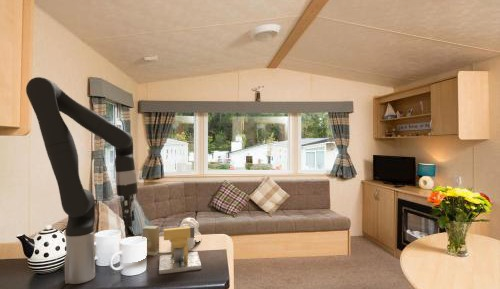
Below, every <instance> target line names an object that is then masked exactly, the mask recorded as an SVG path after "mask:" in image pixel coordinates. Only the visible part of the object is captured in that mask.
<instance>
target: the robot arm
mask: <svg viewBox="0 0 500 289" xmlns="http://www.w3.org/2000/svg"><path fill="white" fill-rule="evenodd" d="M25 92H26V96H27V98H28V100H29V102H30V105H31V107H32V109H33V112H34V114H35V115H36V119H37V122H38V126H39V131H40V133H41V138H42V140H43V145H44V148H45V151H46V154H47V158H48V160H49V162H50V166H51V168H52V172H53V175H54V177H55V179H56V183H57V187H58V193H59V197H60V203H61V207H62V210H63V212H64V213H65V214H66V215H67V216H68V218H67V223H66V226H65V250H66V251H65V252H66V255H65V256H64V280H65V281H64V282H65V284H71V285H76V284H83V283H87V282H89V281H92V280H93V279H94V278H95V277H96V260H95V259H96V258H95V257H96V256H95V255H96V254H95V253H96V251H95V221H96V203H95V202H96V200H95V196H94V194H93V192H91V191H90V190H89V189H87V188H86V189H85V188H84V186H83V183H82V181H81V178H80V172H79V166H80V165H79V155H78V149H77V145H76V144H75V140H74V138H73V135H72V132H71V131H70V129H69V126H67V124H66V122H65V121H64V119H63V116H62V115H61V113H62V114H63V115H66V116H67V117H69V118H70V119H71V120H72V121H74V122H76V123H77V124H78V125H80V126H81V127H82V128H84V129H85V130H87V131H89V132H90V133H92V134H94V135H95V136H96V137H99V138H101V139H103V141H105V142H107V143H108V144H109V145H110V146H112V147H114V151H115V159H114V170H115V185H116V195H117V196H118V197H123V199H122V201H121V204H122V216H123V218H124V222H125V227H126V228H129V227H133V222H134V221H135V220H136V219H135V208H136V207H135V198H134V195H137V194H138V192H139V190H138V181H137V173H136V167H135V166H136V165H135V159H134V140H133V136H132V135H131V133H129V132H128V131H125V130H123V129H121V128H120V127H118V126H116V125H115V124H113V123H112V122H110V121H109V119H107V118H105V117H104V116H102V115H101V114H99V113H97V112H95V111H94V110H92V109H90V108H88V107H87V106H84V105H82V103H79V102H78V101H76V99H73V98H72V97H71V96H69V95H68V94H67V93H66V92H65V91H64V90H62V89H61V88H60V87H59V86H58V84H56V82H54V81H52V80H50V79H47V78H45V77H41V76H37V77H33V78H31V79H30V80H28V82H27V84H26V87H25ZM60 112H61V113H60Z"/></svg>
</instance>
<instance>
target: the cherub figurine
mask: <svg viewBox="0 0 500 289" xmlns="http://www.w3.org/2000/svg"><path fill="white" fill-rule="evenodd" d="M190 226H194V236H197V235H202V234H201V232H199V228H200V223H199V221H197V220H196V219H195V218H193V217H186V218H184V219H182V221H181V223H180V224H179V226H178V228H180V227H190ZM168 241H169V243H171V240H168ZM187 244H188V251H191V249H193V248H194V246H195V245H196V241H194V238H187Z"/></svg>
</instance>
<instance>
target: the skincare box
mask: <svg viewBox="0 0 500 289" xmlns="http://www.w3.org/2000/svg"><path fill="white" fill-rule="evenodd" d="M143 237H146V238H147V255H146V256H157V255H158V254H159V253H160V226H158V225H145V226H144V227H142V238H143Z"/></svg>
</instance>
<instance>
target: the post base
mask: <svg viewBox="0 0 500 289" xmlns="http://www.w3.org/2000/svg"><path fill="white" fill-rule="evenodd" d="M170 249H171V252H170V254H162V255H159V263H158V264H159V265H158V268H159V269H158V275H164V274H172V273H180V272H181V273H182V272H187V271H188V272H189V271H197V270H201V269H202V262H201V260H200V256H199V253H198V251H189V250H188V244H184V247H182V248H173V247H170Z"/></svg>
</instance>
